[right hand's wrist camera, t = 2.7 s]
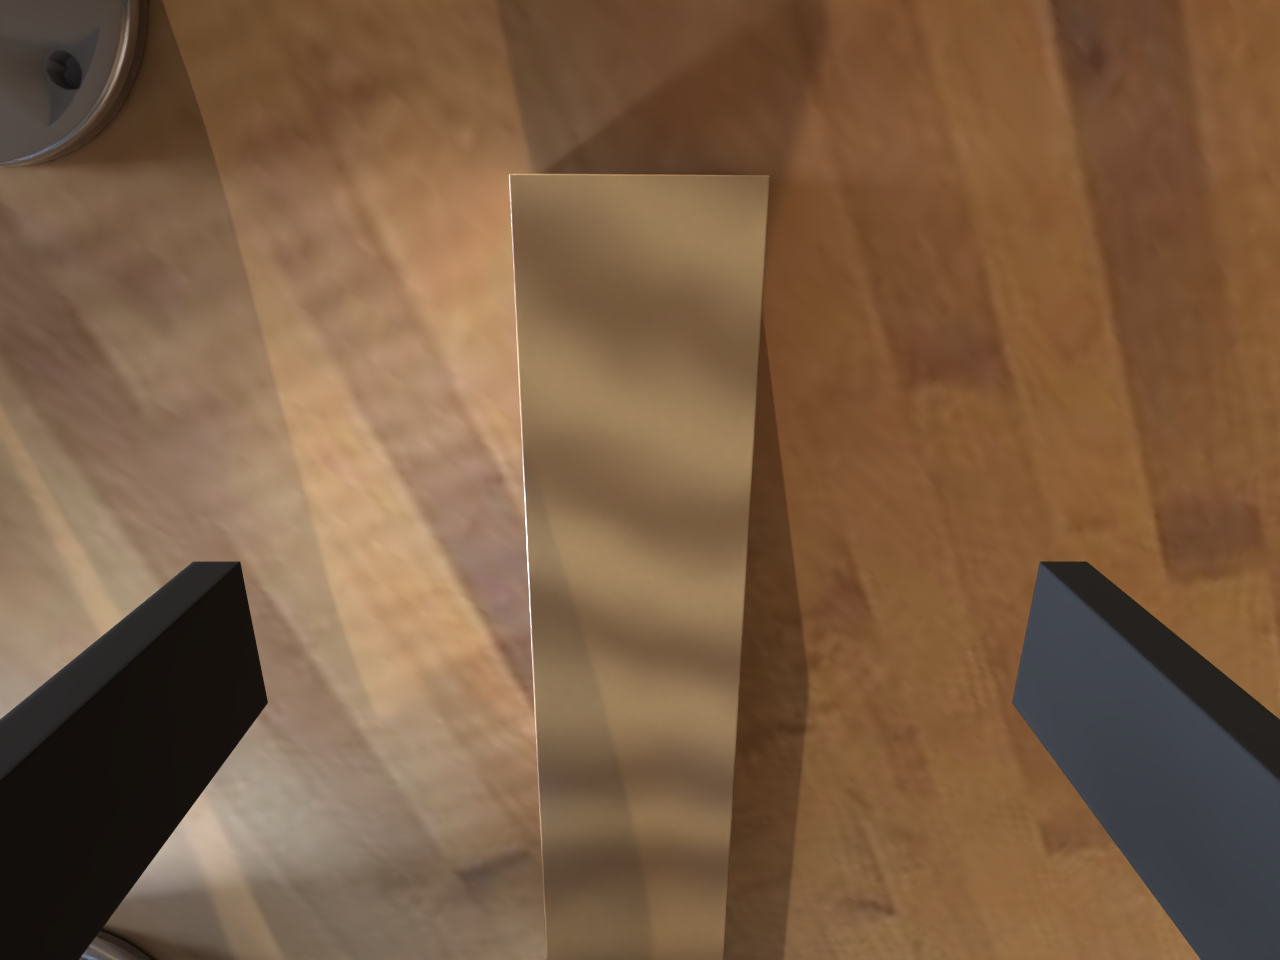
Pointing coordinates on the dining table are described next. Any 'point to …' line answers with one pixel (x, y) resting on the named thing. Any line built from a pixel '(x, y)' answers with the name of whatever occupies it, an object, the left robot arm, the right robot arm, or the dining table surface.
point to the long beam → (637, 541)
